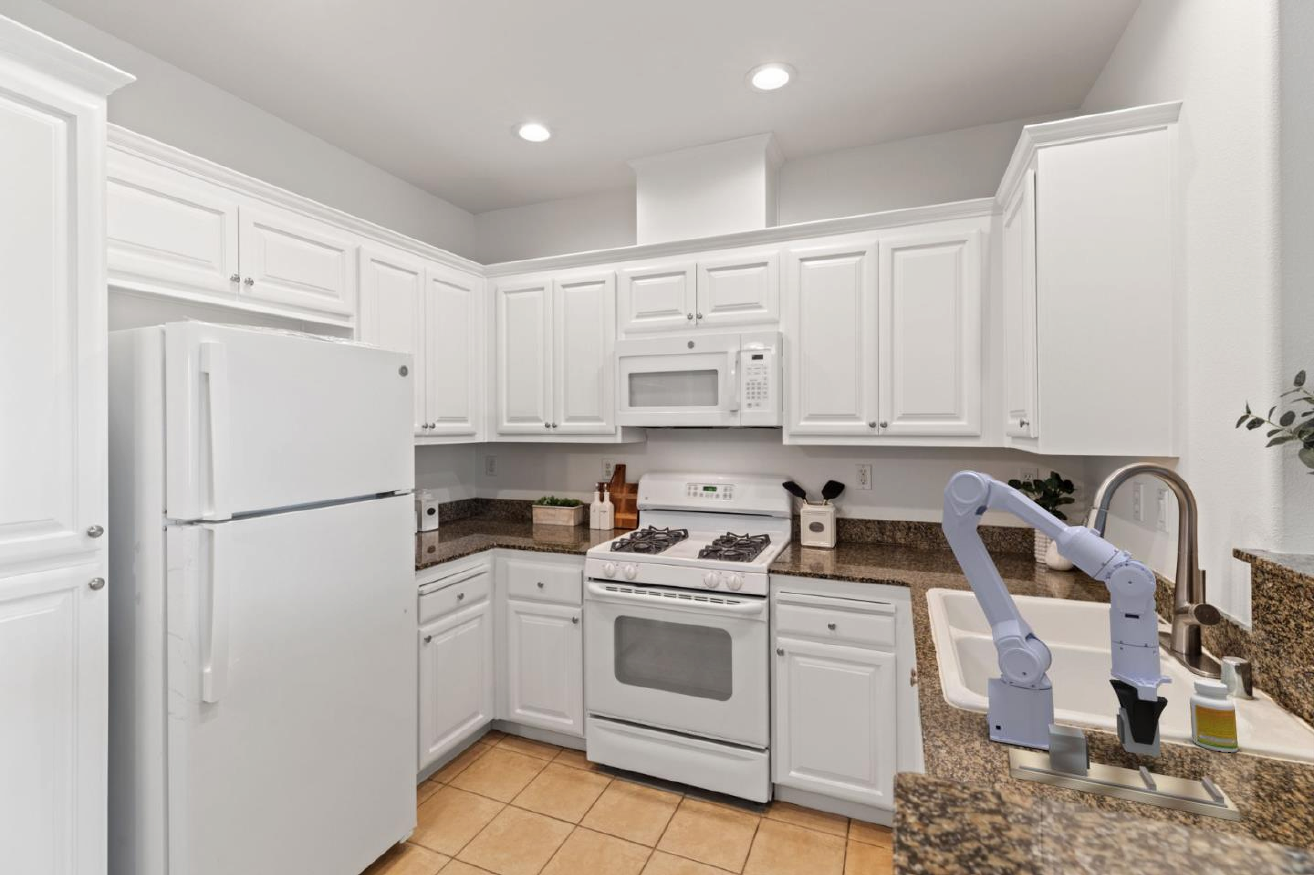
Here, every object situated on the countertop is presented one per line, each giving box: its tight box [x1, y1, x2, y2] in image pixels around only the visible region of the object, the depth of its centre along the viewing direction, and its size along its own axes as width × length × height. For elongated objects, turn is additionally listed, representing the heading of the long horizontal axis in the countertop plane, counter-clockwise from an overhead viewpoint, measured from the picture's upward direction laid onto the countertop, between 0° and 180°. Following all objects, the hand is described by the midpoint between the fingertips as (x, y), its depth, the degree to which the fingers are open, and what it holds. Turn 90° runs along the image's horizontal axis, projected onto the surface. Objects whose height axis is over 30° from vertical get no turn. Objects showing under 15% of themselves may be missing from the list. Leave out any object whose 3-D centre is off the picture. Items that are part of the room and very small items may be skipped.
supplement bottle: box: [1189, 679, 1239, 753], centre depth 98 cm, size 5×5×10 cm
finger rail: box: [1008, 724, 1242, 823], centre depth 83 cm, size 24×8×6 cm, turn 62°
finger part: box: [1115, 707, 1162, 758], centre depth 90 cm, size 4×4×5 cm
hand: (1139, 737), depth 90 cm, fingers closed on finger part, 4 cm apart
